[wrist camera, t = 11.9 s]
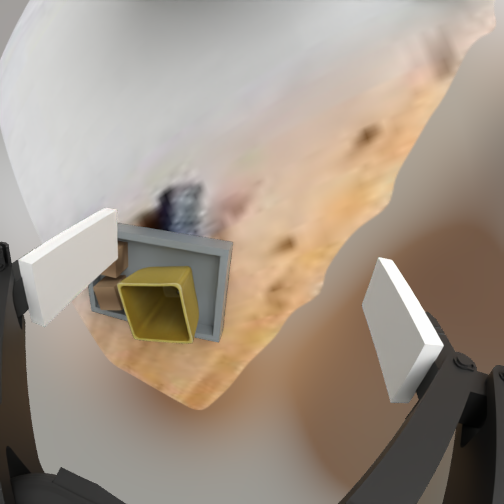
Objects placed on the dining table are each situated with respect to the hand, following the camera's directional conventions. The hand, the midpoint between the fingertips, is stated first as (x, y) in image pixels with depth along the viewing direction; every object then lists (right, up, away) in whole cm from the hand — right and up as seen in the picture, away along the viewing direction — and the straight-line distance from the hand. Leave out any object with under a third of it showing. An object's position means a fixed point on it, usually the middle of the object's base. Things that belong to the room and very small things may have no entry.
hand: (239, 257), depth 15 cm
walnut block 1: (-20, 0, +30) cm, 36 cm away
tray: (-14, -3, +31) cm, 35 cm away
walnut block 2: (-21, -5, +32) cm, 39 cm away
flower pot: (-10, -4, +31) cm, 33 cm away
